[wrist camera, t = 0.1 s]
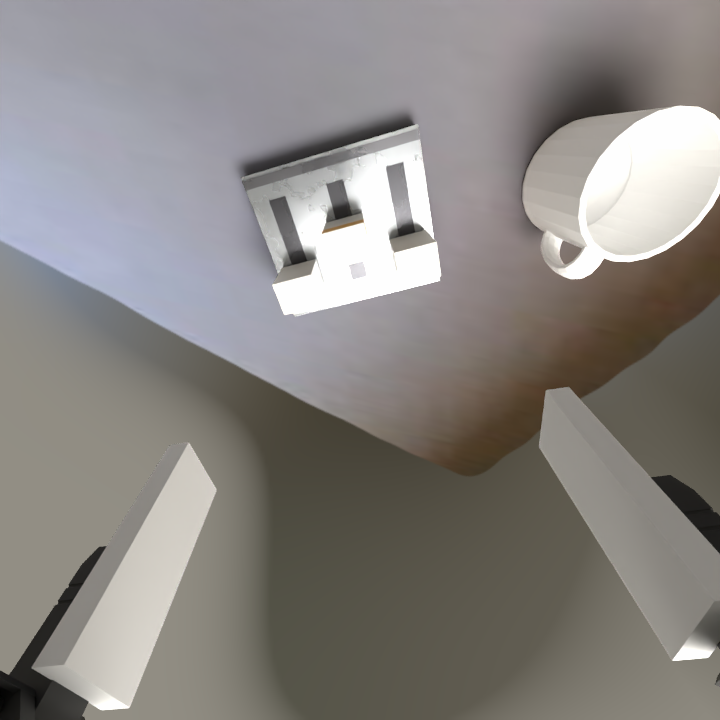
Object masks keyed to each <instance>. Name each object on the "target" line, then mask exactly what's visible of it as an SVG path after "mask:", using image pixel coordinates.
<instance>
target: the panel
mask: <svg viewBox="0 0 720 720" xmlns="http://www.w3.org/2000/svg"><path fill="white" fill-rule="evenodd" d="M241 179H242V182H243V185H244V188H245V190H246V192H247V194H248V197H249V199H250V202H251V205H252V207H253V210H254V212H255V215H256V218H257V220H258V223H259V225H260V228H261V231H262V233H263V236H264V238H265V241H266V243H267V246H268V249H269V251H270V254H271V256H272V259H273V262H274V264H275V267H276V269H277V272H278V274H279V272H280V271H281V269H282V268H284V267H288V266H291V265H295V264H299V263H303V262H306V261H310V260H314V259H316V260H317V263H318V266H319V269H320V272H321V276H322V279H323V282H324V285H325V291H324V296H323V301H322V306H319V307H315V308H311V309H307V310H303V311H299V312H294V313H293V314H294V316H299V315H303V314H307V313H311V312H315V311H319V310H323V309H327V308H331V307H335V306H339V305H343V304H347V303H351V302H355V301H359V300H363V299H368V298H372V297H376V296H380V295H384V294H388V293H392V292H396V291H400V290H404V289H408V288H412V287H416V286H420V285H424V284H428V283H432V282H436V281H440V279H439V278H440V277H435V278H431V279H427V280H423V281H419V282H415V283H411V284H407V285H403V286H401V285H400V282H399V279H398V276H397V273H396V270H395V266H394V261H393V256H392V252H391V247H390V242H389V239H393V238H397V237H400V236H404V235H408V234H412V233H416V232H419V231H423V230H426V231H427V232H428V233H429V234H430V235H431V236H432V237H433V239H434V236H433V229H432V222H431V215H430V208H429V200H428V193H427V186H426V179H425V172H424V165H423V158H422V151H421V143H420V135H419V128H418V124H417V125H413V126H410V127H407V128H403V129H400V130H397V131H394V132H390V133H387V134H384V135H380V136H377V137H374V138H370V139H367V140H364V141H360V142H357V143H354V144H350V145H347V146H344V147H340V148H337V149H334V150H331V151H327V152H324V153H321V154H317V155H314V156H311V157H307V158H304V159H301V160H297V161H294V162H291V163H287V164H284V165H281V166H278V167H274V168H271V169H268V170H264V171H261V172H258V173H254V174H251V175H248V176H244V177H241ZM359 213H363V217H364V221H365V226H366V230H367V234H368V238H369V243H370V248H371V252H372V259H369V260H365V261H362V262H358V263H354V264H350V265H346V266H342V267H339V268H335V269H332V268H331V264H330V261H329V258H328V254H327V251H326V248H325V244H324V241H323V238H322V234H321V233H322V230H323V228H324V226H325V223H327V222H331V221H334V220H338V219H341V218H345V217H349V216H352V215H356V214H359Z"/></svg>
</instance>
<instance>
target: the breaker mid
mask: <svg viewBox="0 0 720 720" xmlns="http://www.w3.org/2000/svg"><path fill="white" fill-rule="evenodd" d="M321 234H322V238H323V241H324V244H325V248H326V251H327V254H328V258H329V261H330V264H331V268H332V269H335V268H339V267H342V266H346V265H350V264H354V263H358V262H362V261H365V260H369V259H372V252H371V248H370V243H369V238H368V234H367V230H366V226H365V221H364V217H363V213H359V214H356V215H352V216H349V217H345V218H341V219H338V220H334V221H331V222H327V223H325V226H324V228H323V230H322V233H321Z"/></svg>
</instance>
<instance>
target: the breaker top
mask: <svg viewBox="0 0 720 720" xmlns="http://www.w3.org/2000/svg"><path fill="white" fill-rule="evenodd" d="M389 242H390V247H391V252H392V256H393V261H394V266H395V270H396V273H397V276H398V279H399V282H400V285H401V286H403V285H407V284H411V283H415V282H419V281H423V280H427V279H431V278H435V277H439V276H441V271H440V264H439V257H438V249H437V242H436V241H435V240H434V239H433V237H432V236H431V235H430V234H429V233H428V232H427V231H426V230H423V231H419V232H416V233H412V234H408V235H404V236H400V237H397V238H393V239H389Z"/></svg>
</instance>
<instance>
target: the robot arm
mask: <svg viewBox="0 0 720 720" xmlns="http://www.w3.org/2000/svg"><path fill="white" fill-rule="evenodd" d="M539 448H540V449H541V451H542V452H543V454H544V456H545V457H546V459H547V461H548V462H549V464H550V465H551V467H552V469H553V470H554V472H555V473H556V475H557V477H558V478H559V480H560V481H561V483H562V485H563V486H564V488H565V489H566V491H567V493H568V494H569V496H570V498H571V499H572V501H573V502H574V504H575V505H576V507H577V508H578V510H579V512H580V514H581V515H582V517H583V518H584V520H585V522H586V523H587V525H588V526H589V528H590V530H591V531H592V533H593V534H594V536H595V538H596V539H597V541H598V542H599V544H600V545H601V547H602V549H603V550H604V552H605V554H606V555H607V557H608V558H609V560H610V562H611V563H612V565H613V566H614V568H615V570H616V571H617V573H618V575H619V576H620V578H621V579H622V581H623V582H624V584H625V586H626V587H627V589H628V591H629V592H630V594H631V595H632V597H633V598H634V600H635V602H636V603H637V605H638V607H639V608H640V610H641V611H642V613H643V615H644V616H645V618H646V619H647V621H648V622H649V624H650V626H651V627H652V629H653V631H654V632H655V634H656V635H657V637H658V639H659V640H660V642H661V643H662V645H663V647H664V648H665V650H666V651H667V653H668V655H669V656H670V658H671V659H672V661H675V660H687V659H698V658H708V657H709V656H710V655H711V654H712V652H713V651H714V650H715V649H716V648H717V646H718V647H719V649H720V516H719V515H718V514H717V513H716V512H713V510H712V508H711V507H710V506H709V505H708V504H707V503H706V502H705V501H704V500H703V499H702V498H701V497H700V496H699V495H698V494H697V493H696V492H695V491H694V490H693V489H691V488H690V487H688V486H687V485H685V484H684V483H682V482H680V481H679V480H677V479H676V478H674V477H672V476H671V475H667V476H660V477H649V475H648V474H647V473H646V472H645V471H644V470H643V469H642V467H641V466H640V465H639V464H638V463H637V462H636V461H635V460H634V459H633V458H632V456H631V455H630V454H629V453H628V452H627V451H626V450H625V449H624V448H623V446H621V444H620V443H619V442H618V441H617V440H616V439H615V438H614V437H613V435H612V434H611V433H610V432H609V431H608V430H607V429H606V428H605V427H604V425H603V424H601V422H600V421H599V420H598V419H597V418H596V417H595V416H594V415H593V413H592V412H591V411H590V410H589V409H588V408H587V407H586V406H585V404H584V403H583V402H582V401H581V400H580V399H579V398H578V397H577V396H576V395H575V393H574V392H573V391H572V390H571V389H570V388H569V387H565V388H558V389H551V390H546V394H545V402H544V410H543V418H542V426H541V435H540V443H539ZM216 491H217V490H216V488H215V486H214V484H213V483H212V481H211V479H210V478H209V476H208V474H207V473H206V471H205V469H204V467H203V466H202V464H201V462H200V461H199V459H198V457H197V455H196V454H195V452H194V450H193V449H192V447H191V445H190V443H189V442H188V443H181V444H173V445H169V447H168V448H167V450H166V452H165V453H164V455H163V457H162V458H161V460H160V461H159V463H158V465H157V466H156V468H155V470H154V471H153V473H152V474H151V476H150V477H149V479H148V481H147V482H146V484H145V486H144V487H143V489H142V490H141V492H140V494H139V495H138V497H137V498H136V500H135V502H134V503H133V505H132V506H131V508H130V510H129V511H128V513H127V515H126V516H125V518H124V520H123V521H122V523H121V524H120V526H119V527H118V529H117V531H116V532H115V534H114V536H113V537H112V539H111V540H110V542H109V543H108V545H107V546H104V547H99V548H98V549H97V550H96V551H95V552H94V553H93V554H92V555H91V556H90V557H89V558H88V559H87V560H86V561H85V562H84V563H83V564H82V565H81V566H80V568H79V570H78V571H77V573H76V574H75V576H74V577H73V579H72V580H71V582H70V583H69V587H68V588H66V590H65V591H64V593H63V594H62V596H61V597H60V599H59V600H58V604H57V605H55V606H54V608H53V610H52V611H51V612H50V614H49V615H48V617H47V619H46V620H45V622H44V623H43V625H42V626H41V628H40V629H39V631H38V632H37V634H36V635H35V637H34V639H33V640H32V641H31V643H30V645H29V646H28V648H27V649H26V651H25V652H24V654H23V655H22V657H21V658H20V660H19V661H18V663H17V664H16V666H15V668H14V669H13V670H12V672H11V673H10V674H9V675H7V674H5V673H4V672H2V671H0V720H85V718H84V717H83V716H82V714H83V713H84V710H85V708H86V706H87V704H88V702H89V703H90V704H92V705H94V706H95V707H97V708H99V709H100V710H109V709H121V708H129V707H130V705H131V703H132V700H133V698H134V695H135V693H136V690H137V688H138V685H139V683H140V680H141V678H142V675H143V673H144V670H145V667H146V665H147V663H148V660H149V658H150V655H151V653H152V650H153V648H154V645H155V643H156V640H157V638H158V635H159V633H160V630H161V628H162V625H163V623H164V620H165V618H166V615H167V613H168V610H169V608H170V605H171V603H172V600H173V598H174V595H175V593H176V590H177V588H178V585H179V583H180V580H181V578H182V575H183V573H184V570H185V568H186V565H187V563H188V560H189V558H190V555H191V553H192V550H193V548H194V545H195V543H196V541H197V538H198V536H199V533H200V530H201V528H202V526H203V523H204V521H205V518H206V516H207V513H208V510H209V508H210V505H211V503H212V501H213V498H214V496H215V493H216ZM715 685H717V686H719V687H720V673H719V675H718V677H717V680H716V683H715Z"/></svg>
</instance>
